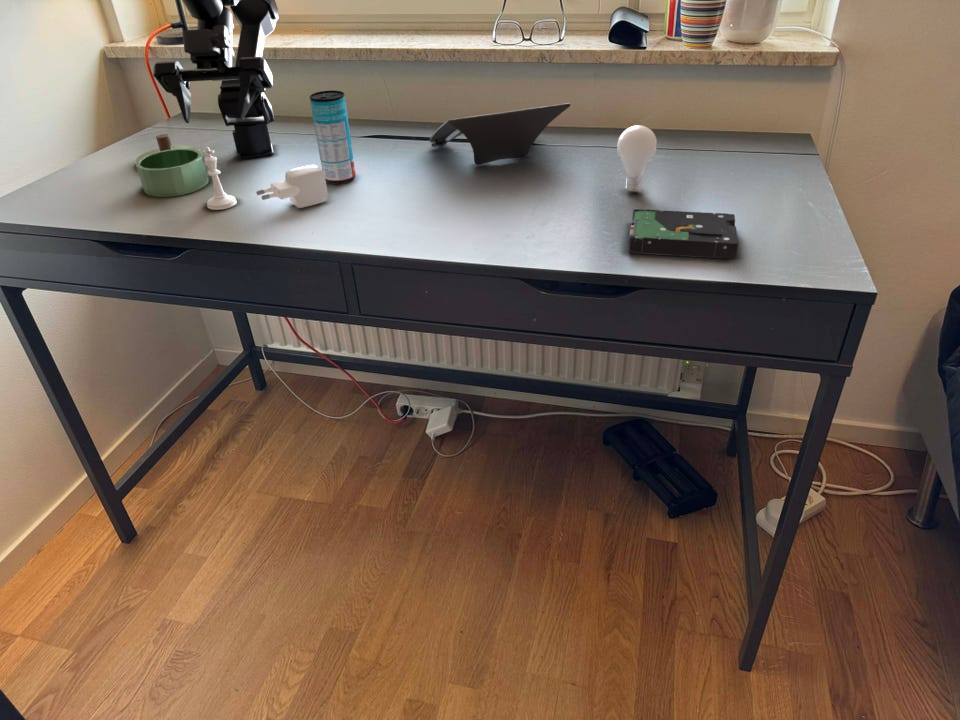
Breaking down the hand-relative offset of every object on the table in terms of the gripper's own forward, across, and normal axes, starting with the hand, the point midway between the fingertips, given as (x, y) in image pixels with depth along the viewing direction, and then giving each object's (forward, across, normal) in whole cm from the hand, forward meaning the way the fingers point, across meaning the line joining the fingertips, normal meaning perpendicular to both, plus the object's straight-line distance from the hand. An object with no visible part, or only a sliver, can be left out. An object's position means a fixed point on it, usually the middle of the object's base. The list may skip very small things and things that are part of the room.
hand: (213, 120), depth 122 cm
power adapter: (+15, +13, +3) cm, 20 cm away
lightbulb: (+16, +70, +2) cm, 72 cm away
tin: (+6, -11, +12) cm, 17 cm away
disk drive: (+30, +73, -12) cm, 80 cm away
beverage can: (+7, +19, +11) cm, 23 cm away
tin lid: (-4, -17, +21) cm, 27 cm away
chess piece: (+13, 0, +5) cm, 14 cm away
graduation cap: (0, +48, +18) cm, 51 cm away
